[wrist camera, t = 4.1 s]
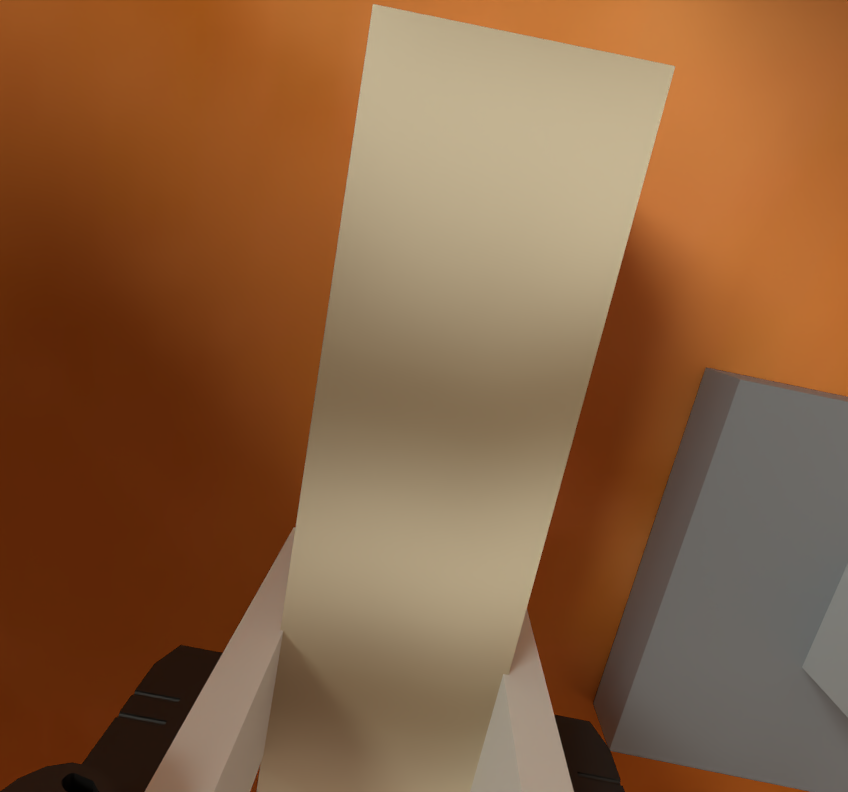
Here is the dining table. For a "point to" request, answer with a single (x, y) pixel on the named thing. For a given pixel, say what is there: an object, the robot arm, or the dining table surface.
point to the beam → (448, 389)
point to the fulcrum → (743, 595)
